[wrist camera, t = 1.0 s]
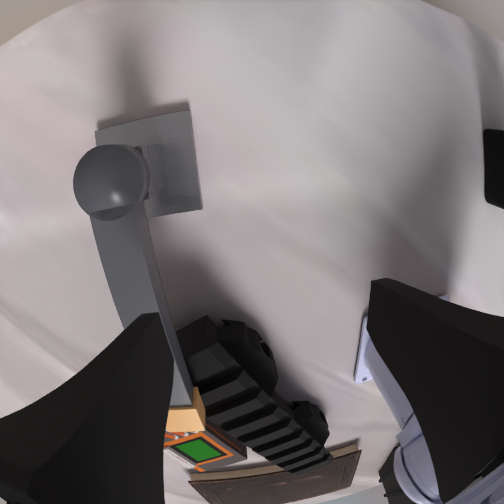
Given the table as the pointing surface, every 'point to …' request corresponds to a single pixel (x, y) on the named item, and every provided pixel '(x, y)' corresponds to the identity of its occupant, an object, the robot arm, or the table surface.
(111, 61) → the table surface
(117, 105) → the table surface
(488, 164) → the battery
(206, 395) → the rail mount
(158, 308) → the bar
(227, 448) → the electronic device
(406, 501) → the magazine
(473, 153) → the table surface
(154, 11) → the table surface
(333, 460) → the hardcover book
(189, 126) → the pivot post
